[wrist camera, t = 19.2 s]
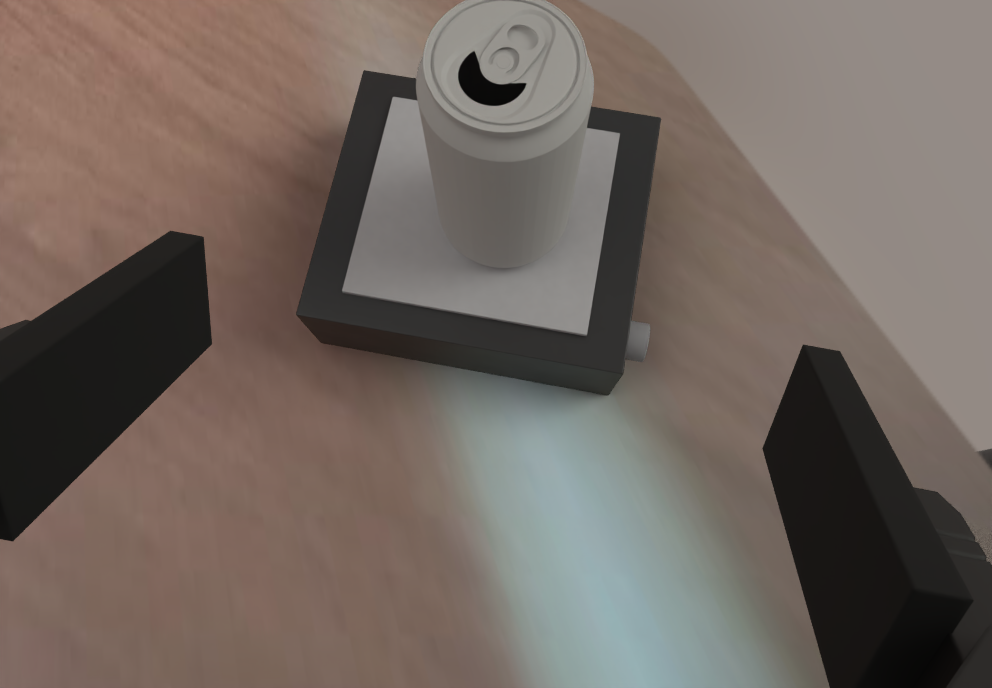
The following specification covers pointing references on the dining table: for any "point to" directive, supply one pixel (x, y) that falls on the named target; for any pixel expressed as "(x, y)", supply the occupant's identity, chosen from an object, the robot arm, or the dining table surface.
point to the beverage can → (504, 125)
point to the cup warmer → (465, 283)
